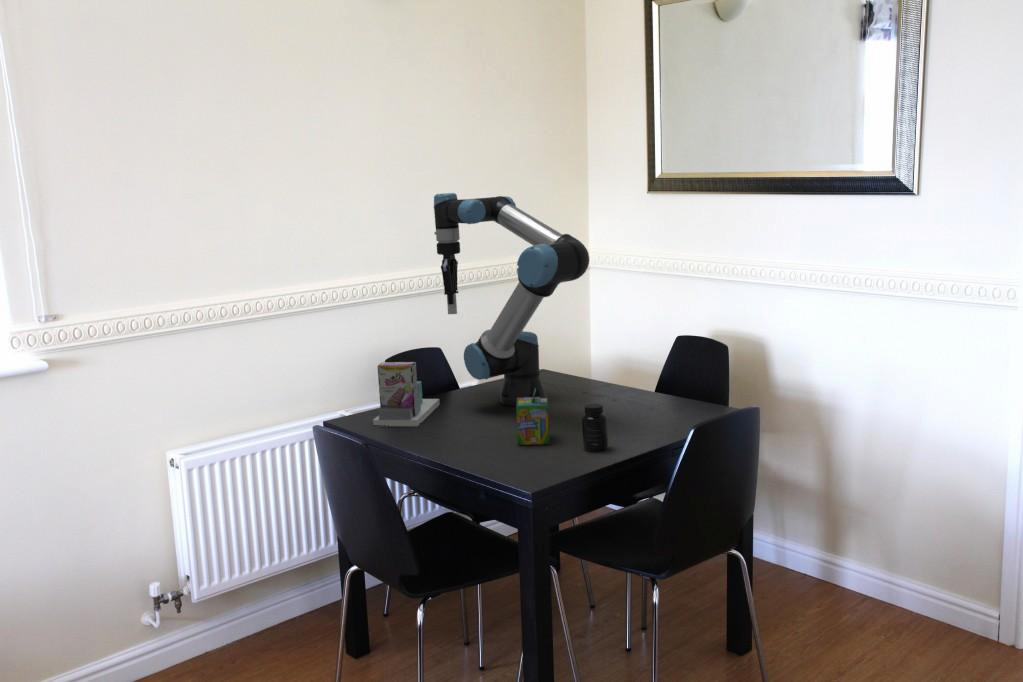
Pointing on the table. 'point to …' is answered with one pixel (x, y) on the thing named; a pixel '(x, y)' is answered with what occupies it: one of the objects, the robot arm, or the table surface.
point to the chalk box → (533, 420)
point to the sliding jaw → (419, 394)
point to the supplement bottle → (594, 429)
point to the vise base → (417, 418)
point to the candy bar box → (398, 384)
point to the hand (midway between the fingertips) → (452, 313)
